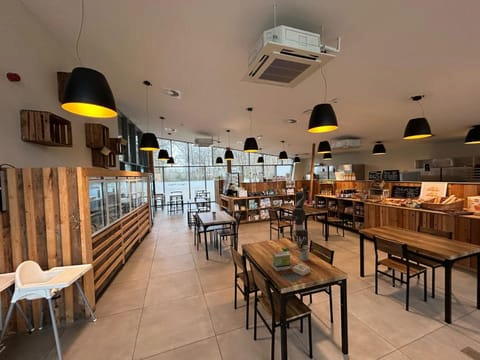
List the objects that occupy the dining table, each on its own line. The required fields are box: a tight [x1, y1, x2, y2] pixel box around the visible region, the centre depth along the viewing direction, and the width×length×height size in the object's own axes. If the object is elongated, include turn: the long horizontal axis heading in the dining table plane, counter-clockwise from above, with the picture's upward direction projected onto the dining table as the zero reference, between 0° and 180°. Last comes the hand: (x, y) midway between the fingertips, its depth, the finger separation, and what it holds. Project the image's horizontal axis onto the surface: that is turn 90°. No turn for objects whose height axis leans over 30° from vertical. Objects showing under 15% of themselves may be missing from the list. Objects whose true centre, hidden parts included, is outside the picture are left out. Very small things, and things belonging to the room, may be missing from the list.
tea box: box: [272, 251, 291, 272], centre depth 205 cm, size 15×10×15 cm
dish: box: [292, 263, 311, 277], centre depth 194 cm, size 11×11×5 cm
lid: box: [290, 241, 311, 252], centre depth 194 cm, size 12×12×7 cm
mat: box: [280, 271, 304, 284], centre depth 185 cm, size 15×15×1 cm
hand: (300, 246), depth 194 cm, fingers closed on lid, 3 cm apart
